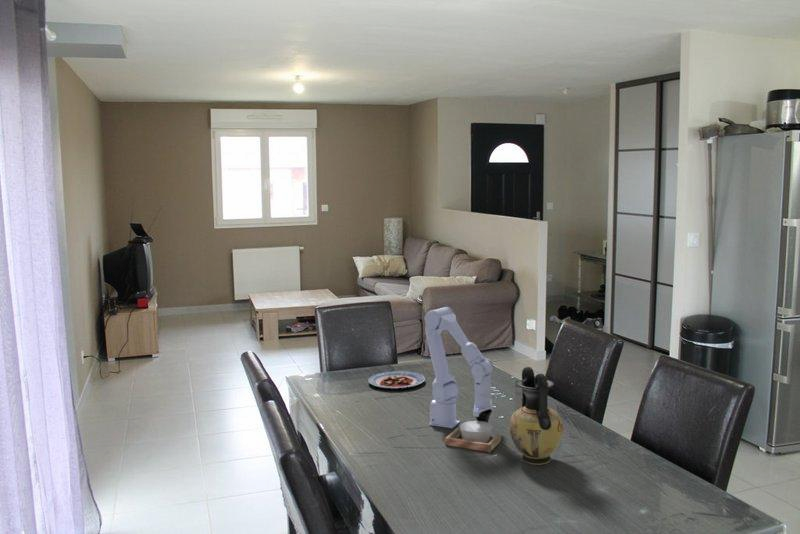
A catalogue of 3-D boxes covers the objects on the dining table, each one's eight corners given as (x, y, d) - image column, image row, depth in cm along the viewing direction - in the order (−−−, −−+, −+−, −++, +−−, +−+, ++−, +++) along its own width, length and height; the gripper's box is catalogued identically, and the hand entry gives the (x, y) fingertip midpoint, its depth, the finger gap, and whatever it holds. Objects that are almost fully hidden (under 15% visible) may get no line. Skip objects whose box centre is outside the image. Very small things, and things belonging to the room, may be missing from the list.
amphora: (499, 454, 231) (498, 367, 227) (542, 445, 238) (542, 360, 234) (529, 474, 215) (529, 380, 211) (574, 464, 222) (574, 373, 218)
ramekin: (453, 441, 244) (453, 426, 243) (472, 432, 252) (472, 418, 252) (479, 449, 237) (479, 434, 236) (498, 439, 245) (498, 425, 244)
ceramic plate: (425, 391, 303) (425, 385, 303) (366, 392, 303) (366, 386, 303) (424, 375, 328) (424, 369, 328) (370, 376, 329) (369, 370, 329)
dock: (445, 444, 241) (445, 437, 241) (457, 434, 251) (457, 427, 251) (490, 452, 233) (489, 445, 233) (500, 440, 243) (500, 433, 243)
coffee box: (532, 430, 253) (532, 387, 251) (514, 429, 254) (514, 386, 252) (533, 421, 262) (532, 380, 260) (515, 420, 263) (515, 379, 261)
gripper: (486, 400, 241) (486, 438, 242) (499, 388, 253) (500, 424, 255) (467, 398, 244) (467, 435, 246) (481, 386, 257) (482, 422, 258)
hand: (483, 429), depth 251 cm, fingers closed
